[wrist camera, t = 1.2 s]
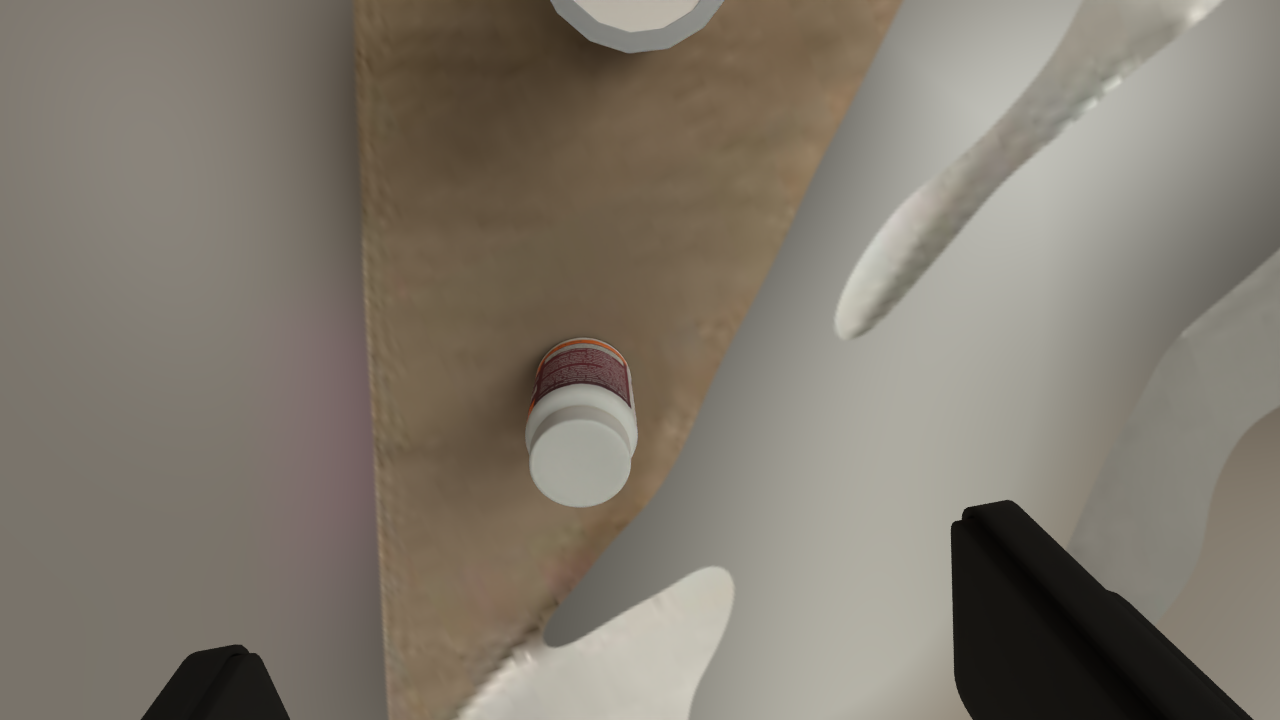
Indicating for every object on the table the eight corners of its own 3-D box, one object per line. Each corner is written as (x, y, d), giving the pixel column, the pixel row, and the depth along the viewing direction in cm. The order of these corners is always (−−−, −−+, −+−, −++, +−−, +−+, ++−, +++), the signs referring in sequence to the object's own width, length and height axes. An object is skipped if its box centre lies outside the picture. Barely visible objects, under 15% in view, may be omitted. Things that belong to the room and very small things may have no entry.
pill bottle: (520, 355, 35) (497, 436, 27) (610, 321, 34) (614, 393, 27) (558, 435, 37) (547, 532, 29) (645, 403, 36) (657, 493, 28)
